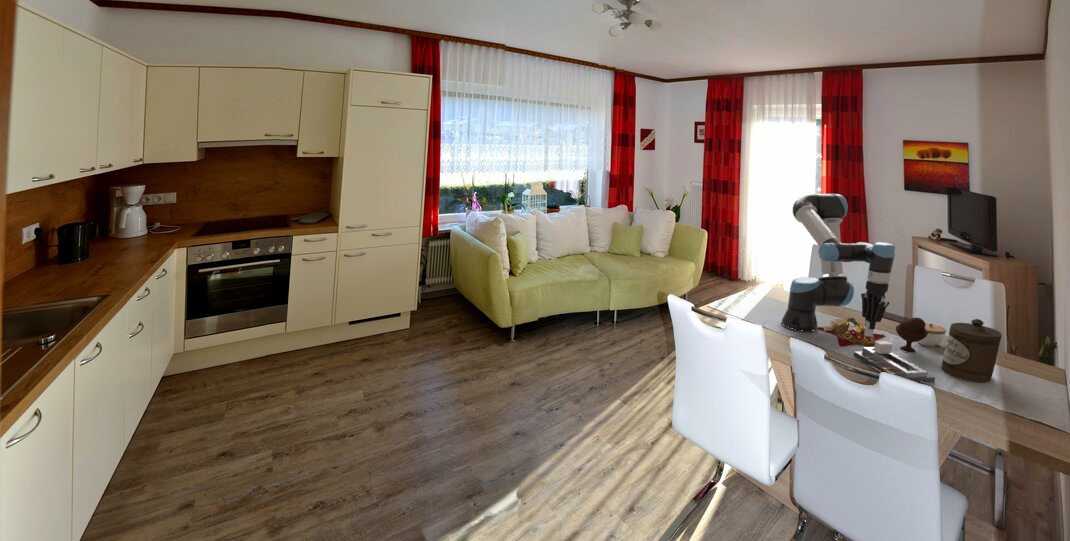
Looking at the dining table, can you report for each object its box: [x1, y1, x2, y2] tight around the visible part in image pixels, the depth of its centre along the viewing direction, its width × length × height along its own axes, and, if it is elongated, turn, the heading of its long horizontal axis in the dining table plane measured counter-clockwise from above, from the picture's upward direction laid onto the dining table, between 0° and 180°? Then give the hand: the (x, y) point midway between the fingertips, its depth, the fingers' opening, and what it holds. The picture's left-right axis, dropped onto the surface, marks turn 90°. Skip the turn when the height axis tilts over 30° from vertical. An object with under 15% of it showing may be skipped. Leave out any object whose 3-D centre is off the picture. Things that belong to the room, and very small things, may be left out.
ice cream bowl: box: [895, 317, 929, 354], centre depth 209 cm, size 11×11×15 cm
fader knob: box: [873, 340, 893, 359], centre depth 199 cm, size 3×5×6 cm
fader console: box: [853, 346, 936, 384], centre depth 194 cm, size 24×14×4 cm, turn 4°
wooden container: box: [940, 318, 1002, 383], centre depth 187 cm, size 15×15×22 cm
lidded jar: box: [918, 322, 947, 347], centre depth 216 cm, size 11×11×9 cm
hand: (868, 335), depth 206 cm, fingers closed
